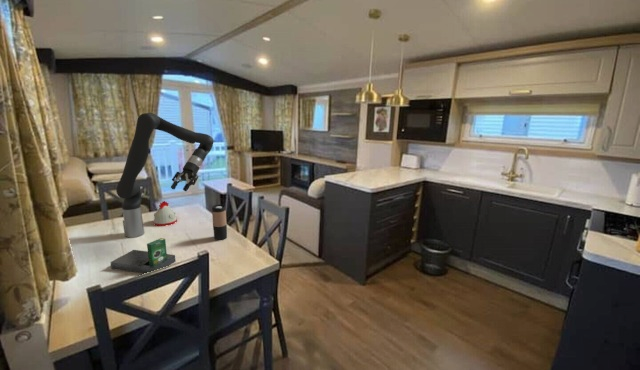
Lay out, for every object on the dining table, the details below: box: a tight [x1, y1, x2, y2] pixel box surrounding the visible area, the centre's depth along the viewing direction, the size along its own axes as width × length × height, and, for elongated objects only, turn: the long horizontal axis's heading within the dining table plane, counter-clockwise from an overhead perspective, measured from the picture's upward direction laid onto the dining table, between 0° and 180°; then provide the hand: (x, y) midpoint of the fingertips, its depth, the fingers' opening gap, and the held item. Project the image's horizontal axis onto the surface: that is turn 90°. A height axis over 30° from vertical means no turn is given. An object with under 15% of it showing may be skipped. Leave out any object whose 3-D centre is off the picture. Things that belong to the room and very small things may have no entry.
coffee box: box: [146, 237, 168, 266], centre depth 133 cm, size 8×3×13 cm, turn 158°
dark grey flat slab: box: [110, 249, 176, 274], centre depth 135 cm, size 24×13×4 cm, turn 79°
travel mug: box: [211, 204, 228, 241], centre depth 165 cm, size 8×8×20 cm
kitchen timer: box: [153, 200, 178, 227], centre depth 188 cm, size 14×14×15 cm
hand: (178, 189), depth 148 cm, fingers open, 8 cm apart
